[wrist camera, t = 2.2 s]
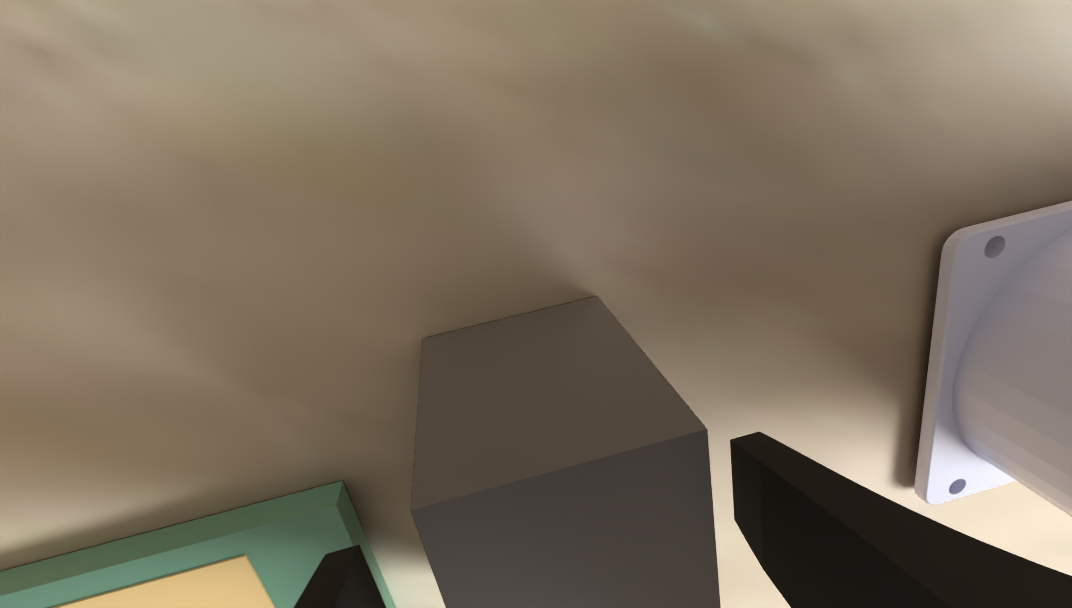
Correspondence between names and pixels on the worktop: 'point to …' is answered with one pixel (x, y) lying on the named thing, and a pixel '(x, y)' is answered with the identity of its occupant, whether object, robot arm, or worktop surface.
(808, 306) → the worktop surface
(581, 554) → the block
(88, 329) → the worktop surface
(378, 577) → the board
